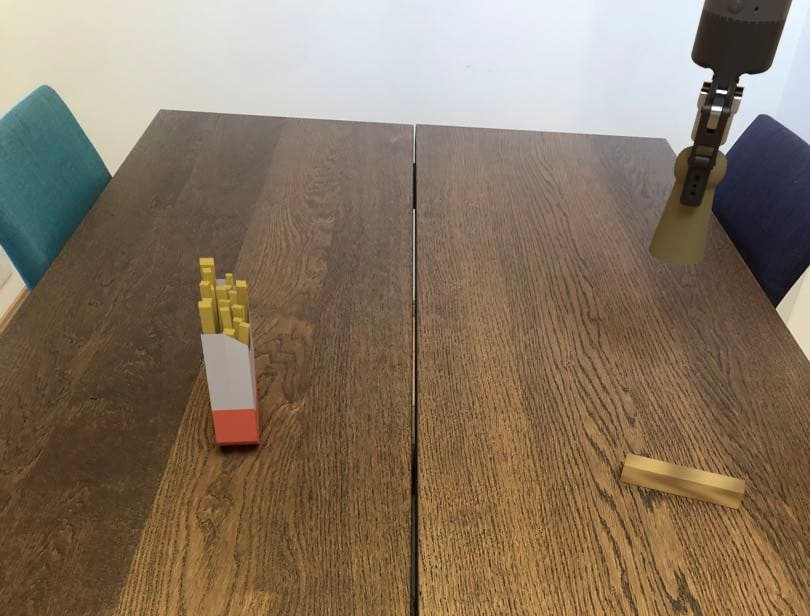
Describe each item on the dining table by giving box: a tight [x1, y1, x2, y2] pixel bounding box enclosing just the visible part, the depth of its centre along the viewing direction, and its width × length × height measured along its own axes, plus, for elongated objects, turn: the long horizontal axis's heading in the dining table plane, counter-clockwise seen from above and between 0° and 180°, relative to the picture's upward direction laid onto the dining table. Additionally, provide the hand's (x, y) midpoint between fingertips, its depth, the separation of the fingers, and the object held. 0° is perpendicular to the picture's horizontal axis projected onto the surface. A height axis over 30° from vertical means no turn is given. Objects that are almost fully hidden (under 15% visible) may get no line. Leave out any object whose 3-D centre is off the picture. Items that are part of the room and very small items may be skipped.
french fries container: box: [197, 257, 260, 447], centre depth 83 cm, size 5×11×18 cm, turn 8°
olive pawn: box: [648, 145, 728, 266], centre depth 87 cm, size 6×6×11 cm
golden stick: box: [619, 452, 746, 510], centre depth 84 cm, size 12×2×2 cm, turn 71°
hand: (692, 194), depth 86 cm, fingers closed on olive pawn, 5 cm apart
